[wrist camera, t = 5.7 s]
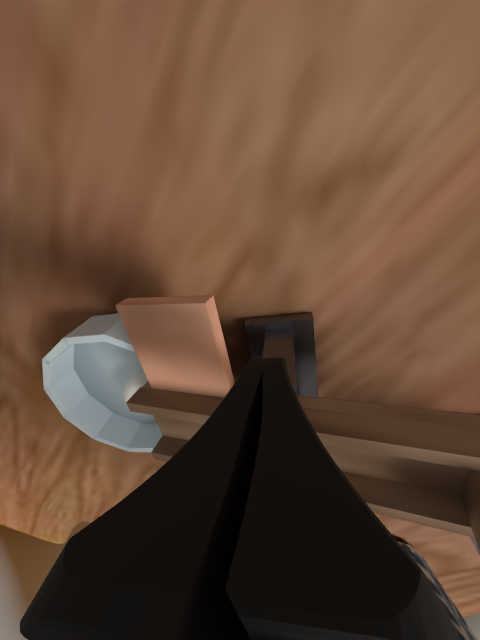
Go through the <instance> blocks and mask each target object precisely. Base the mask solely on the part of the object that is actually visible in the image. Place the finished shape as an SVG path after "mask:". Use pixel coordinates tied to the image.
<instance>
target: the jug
mask: <svg viewBox="0 0 480 640" xmlns="http://www.w3.org/2000/svg"><path fill="white" fill-rule="evenodd" d="M398 543H399V544H400V545H401V546H402V547H403V548H404V549H405V550H406V552H407V553H408V554H409V555H410V556H411V557H412V558H413V560H414V561H415V562H416V563H417V564H418V565H419V567H420V568H421V569H422V570H423V572H424V574H425V575H426V577H427V579H428V581H429V582H430V584H431V586H432V587H433V589H434V591H435V593H436V594H437V596H438V598H439V599H440V601H441V603H442V605H443V607H444V608H445V610H446V612H447V614H448V616H449V618H450V619H451V621H452V623H453V625H454V627H455V629H456V631H457V633H458V635H459V637H460V640H477V639H476V637H475V636H474V634H473V632H472V631H471V629H470V628H469V626H468V625H467V623H466V622H465V620H464V619H463V617H462V616H461V614H460V612H459V611H458V609H457V608H456V606H455V604H454V603H453V602H452V600H451V599H450V597H449V596H448V595H447V593H446V592H445V590H444V589H443V587H442V586H441V584H440V583H439V581H438V580H437V578H436V577H435V575H434V574H433V572H432V571H431V569H430V568H429V566H428V564H427V563H426V561H425V559H424V558H423V556H422V555H421V554H420V553H419V552H418V551H417V550H415V549H414V548H413V547H411V546H410V545H408V544H404V543H402V542H398Z"/></svg>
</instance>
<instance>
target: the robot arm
mask: <svg viewBox="0 0 480 640" xmlns="http://www.w3.org/2000/svg"><path fill="white" fill-rule="evenodd" d="M470 538H471V540H472V542H473V544H474V545H475V547H476V549H477V551H478V553H479V555H480V551H479V549H478V546H477V543H476V540H475V538H474V537H470ZM20 632H21V634H22V635H23V636H24V637H25V638H27V639H28V640H460V637H459V635H458V633H457V631H456V629H455V627H454V625H453V623H452V621H451V619H450V618H449V616H448V614H447V612H446V610H445V608H444V607H443V605H442V603H441V601H440V599H439V598H438V596H437V594H436V593H435V591H434V589H433V587H432V586H431V584H430V582H429V581H428V579H427V577H426V575H425V574H424V572H423V570H422V569H421V568H420V567H419V565H418V564H417V563H416V562H415V561H414V560H413V558H412V557H411V556H410V555H409V554H408V553H407V552H406V550H405V549H404V548H403V547H402V546H401V545H400V544H399V543H398V541H397V540H396V539H395V538H394V537H393V535H392V534H391V533H390V532H389V531H388V530H387V528H386V527H385V526H384V525H383V524H382V522H381V521H380V520H379V519H378V518H377V516H376V515H375V514H374V513H373V511H372V510H371V509H370V508H369V506H368V505H367V504H366V503H365V501H364V500H363V499H362V498H361V497H360V495H359V494H358V493H357V491H356V490H355V489H354V487H353V486H352V484H351V483H350V482H349V480H348V479H347V478H346V476H345V475H344V474H343V472H342V471H341V470H340V468H339V467H338V466H337V464H336V463H335V461H334V460H333V458H332V457H331V455H330V454H329V452H328V451H327V450H326V448H325V447H324V445H323V443H322V442H321V440H320V439H319V437H318V435H317V434H316V432H315V430H314V429H313V427H312V425H311V424H310V422H309V420H308V418H307V416H306V414H305V412H304V411H303V409H302V407H301V405H300V403H299V401H298V398H297V396H296V394H295V391H294V389H293V387H292V384H291V381H290V378H289V375H288V371H287V364H286V360H285V359H284V358H283V357H280V358H266V359H251V360H249V361H248V362H247V364H246V366H245V367H244V369H243V371H242V372H241V374H240V375H239V377H238V379H237V380H236V382H235V383H234V385H233V386H232V388H231V389H230V390H229V392H228V393H227V395H226V396H225V398H224V399H223V400H222V402H221V403H220V404H219V406H218V407H217V408H216V409H215V411H214V412H213V413H212V415H211V416H210V417H209V418H208V420H207V421H206V422H205V423H204V424H203V426H202V427H201V428H200V429H199V430H198V431H197V432H196V433H195V435H194V436H193V437H192V438H191V439H190V440H189V441H188V442H187V443H186V444H185V445H184V446H183V447H182V448H181V449H180V450H179V451H178V452H177V453H176V454H175V455H174V456H173V457H172V458H171V459H170V460H169V461H168V462H167V463H166V464H165V465H163V466H162V467H161V468H160V469H159V470H158V471H157V472H156V473H155V474H153V475H152V476H151V477H150V478H149V479H148V480H146V481H145V482H144V483H143V484H142V485H140V486H139V487H138V488H137V489H136V490H134V491H133V492H132V493H131V494H129V495H128V496H127V497H126V498H124V499H123V500H122V501H120V502H119V503H118V504H117V505H115V506H114V507H113V508H111V509H110V510H108V511H107V512H106V513H104V514H103V515H102V516H100V517H99V518H97V519H96V520H95V521H93V522H92V523H91V524H89V525H88V526H86V527H85V528H84V529H82V530H81V531H80V532H78V533H77V534H75V535H74V536H72V537H71V538H70V539H69V541H68V542H67V544H66V545H65V547H64V549H63V550H62V552H61V554H60V555H59V557H58V559H57V561H56V562H55V564H54V565H53V567H52V569H51V570H50V572H49V574H48V575H47V577H46V579H45V581H44V582H43V584H42V586H41V587H40V589H39V591H38V593H37V594H36V596H35V598H34V599H33V601H32V603H31V604H30V606H29V608H28V609H27V611H26V613H25V614H24V616H23V618H22V619H21V622H20Z"/></svg>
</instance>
